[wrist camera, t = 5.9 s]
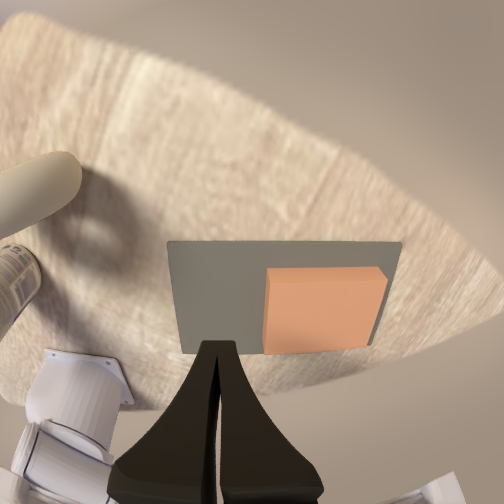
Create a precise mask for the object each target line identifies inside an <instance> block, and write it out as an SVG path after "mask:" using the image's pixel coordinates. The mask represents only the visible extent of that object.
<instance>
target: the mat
mask: <svg viewBox="0 0 504 504" xmlns="http://www.w3.org/2000/svg"><path fill="white" fill-rule="evenodd" d="M401 248H402V243H401V242H356V241H168V242H167V249H168V258H169V267H170V275H171V283H172V290H173V298H174V305H175V311H176V318H177V324H178V330H179V336H180V342H181V348H182V354H197V353H198V350H199V347H200V344H201V342H202V341H203V340H233V341H235V342H236V348H237V352H238V354H264V347H263V340H262V336H263V322H264V307H265V292H266V276H267V268H328V267H379V269H380V270H381V271H382V273H383V274H384V275H385V276H386V278H387V279H388V282H387V285H386V289H385V292H384V295H383V299H382V302H381V305H380V308H379V311H378V314H377V317H376V320H375V323H374V326H373V329H372V332H371V335H370V337H369V340H368V343H367V346H369V345H371V343H372V341H373V338H374V335H375V332H376V330H377V327H378V324H379V321H380V318H381V315H382V312H383V309H384V306H385V303H386V300H387V297H388V294H389V291H390V287H391V284H392V281H393V277H394V274H395V270H396V267H397V263H398V259H399V255H400V252H401Z"/></svg>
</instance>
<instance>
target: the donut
mask: <svg viewBox="0 0 504 504" xmlns="http://www.w3.org/2000/svg"><path fill="white" fill-rule="evenodd" d="M81 181H82V168H81V166H80V163H79V161H78V160H77V159H76V158H75V156H73V155H72V154H70V153H68V152H64V151H57V152H51V153H47V154H44V155H41V156H38V157H35V158H33V159H30V160H27V161H25V162H22V163H19V164H17V165H14V166H12V167H10V168H7V169H5V170H3V171H0V240H1V239H3V238H5V237H8V236H10V235H12V234H14V233H16V232H18V231H20V230H23V229H25V228H27V227H29V226H31V225H33V224H35V223H37V222H38V221H40V220H42V219H44V218H46V217H48V216H50V215H51V214H53V213H55V212H56V211H58V210H60V209H61V208H63V207H64V206H65V205H67V204H68V203H69V202H70V201H71V200H72V199H73V198H74V197H75V196H76V195H77V193H78V191H79V189H80V186H81Z"/></svg>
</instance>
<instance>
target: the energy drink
mask: <svg viewBox="0 0 504 504" xmlns="http://www.w3.org/2000/svg"><path fill="white" fill-rule="evenodd" d="M41 280H42V279H41V272H40V268H39V266H38V263H37V261H36V260H35V258H34V257H33V255H32V254H31V253H30V252H29V251H28V250H27V249H26V248H24V247H22V246H20V245H18V244H7V245H6V246H4V247H3V248H2V249H1V250H0V342H1V340H2V339H3V337H4V336H5V335H6V333H7V332H8V330H9V329H10V327H11V326H12V325H13V323H14V322H15V321H16V319H17V318H18V317H19V315H20V314H21V313H22V311H23V310H24V309H25V307H26V306H27V305H28V303H29V302H30V301H31V300H32V298H33V297H34V296H35V295H36V293H37V292H38V291H39V289H40V287H41Z"/></svg>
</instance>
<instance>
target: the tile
mask: <svg viewBox="0 0 504 504" xmlns="http://www.w3.org/2000/svg"><path fill="white" fill-rule="evenodd" d="M387 282H388V279H387V278H386V276H385V275H384V274H383V273H382V271H381V270H380V269H379V267H328V268H267V276H266V292H265V307H264V322H263V336H262V340H263V347H264V355H273V354H293V353H308V352H321V351H333V350H343V349H352V348H361V347H366V346H367V343H368V340H369V337H370V335H371V332H372V329H373V326H374V323H375V320H376V317H377V314H378V311H379V308H380V305H381V302H382V299H383V295H384V292H385V289H386V285H387Z"/></svg>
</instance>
